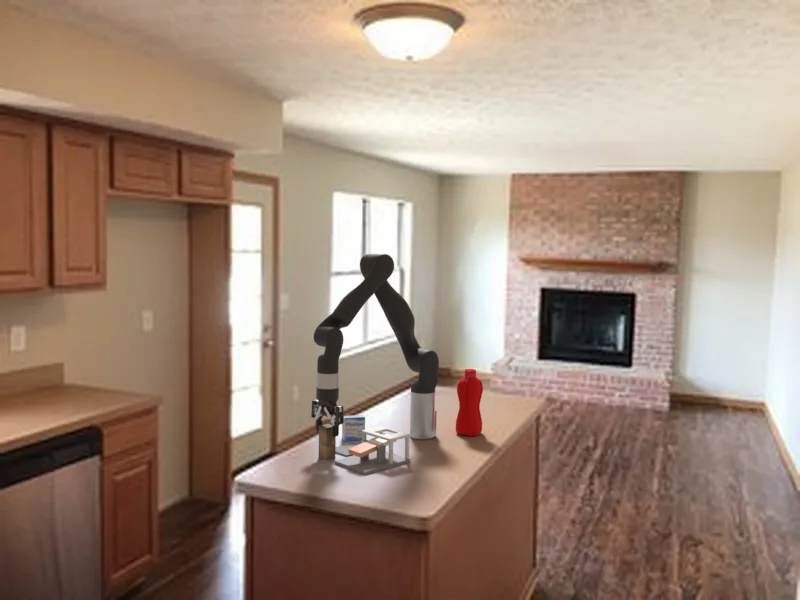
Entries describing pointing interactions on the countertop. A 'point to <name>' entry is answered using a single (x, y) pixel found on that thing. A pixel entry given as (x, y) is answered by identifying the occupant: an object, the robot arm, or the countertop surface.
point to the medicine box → (353, 427)
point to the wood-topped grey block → (326, 442)
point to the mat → (344, 449)
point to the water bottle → (469, 404)
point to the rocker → (368, 446)
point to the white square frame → (378, 453)
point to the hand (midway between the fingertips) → (327, 433)
